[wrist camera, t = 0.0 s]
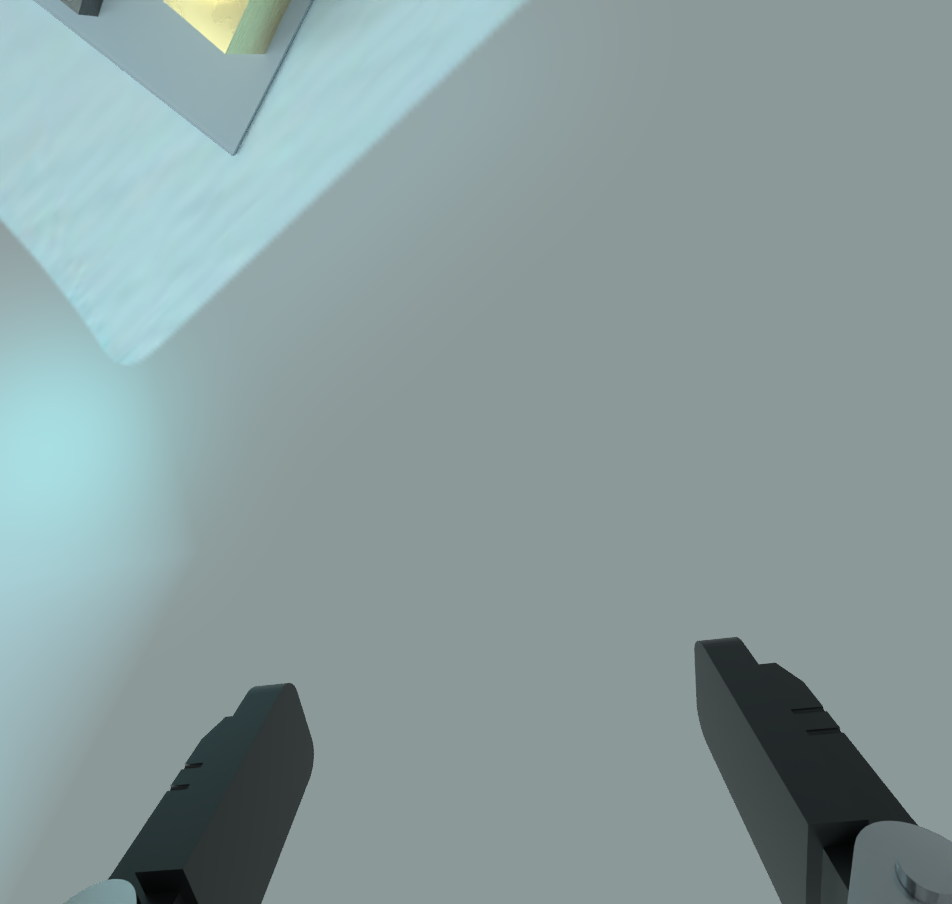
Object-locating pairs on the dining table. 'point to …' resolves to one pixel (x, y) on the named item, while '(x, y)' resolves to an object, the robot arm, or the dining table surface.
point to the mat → (185, 61)
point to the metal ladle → (84, 6)
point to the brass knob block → (234, 22)
